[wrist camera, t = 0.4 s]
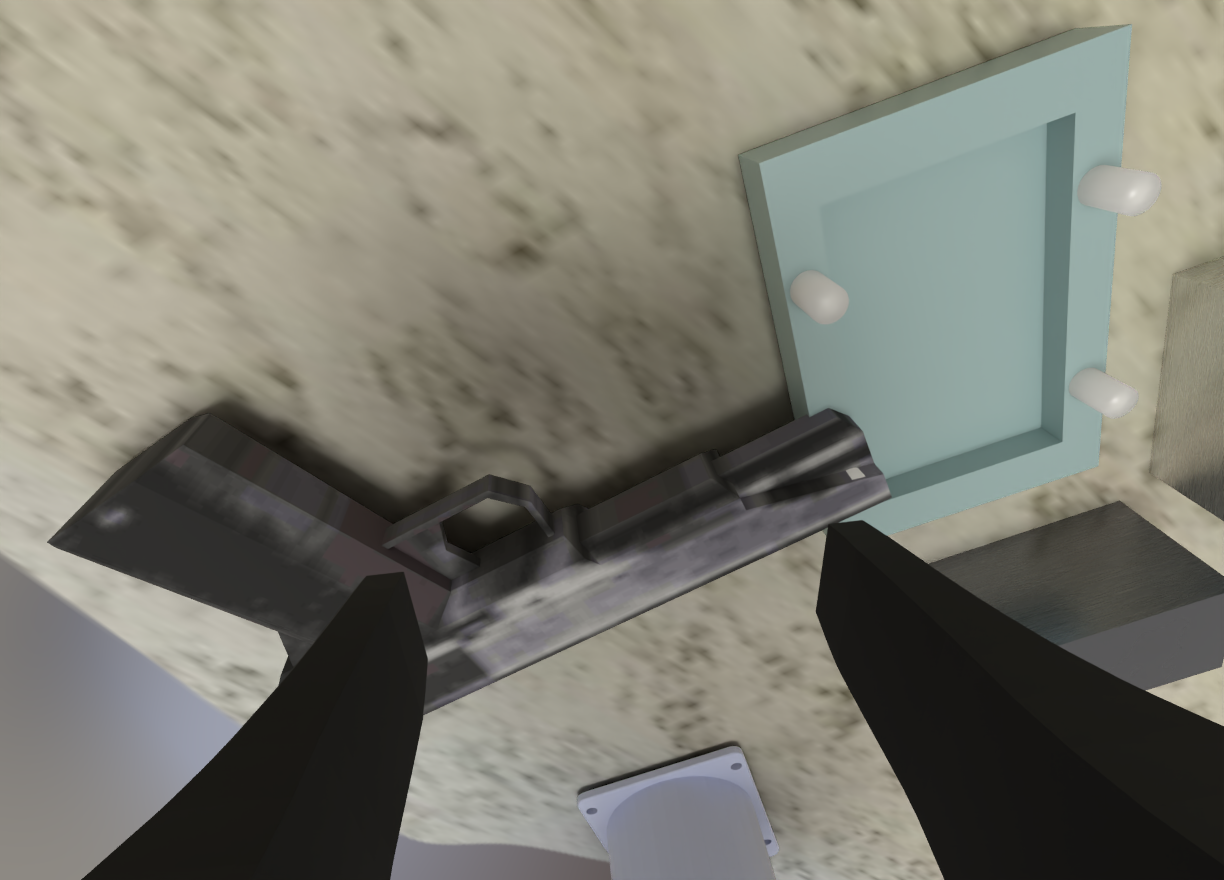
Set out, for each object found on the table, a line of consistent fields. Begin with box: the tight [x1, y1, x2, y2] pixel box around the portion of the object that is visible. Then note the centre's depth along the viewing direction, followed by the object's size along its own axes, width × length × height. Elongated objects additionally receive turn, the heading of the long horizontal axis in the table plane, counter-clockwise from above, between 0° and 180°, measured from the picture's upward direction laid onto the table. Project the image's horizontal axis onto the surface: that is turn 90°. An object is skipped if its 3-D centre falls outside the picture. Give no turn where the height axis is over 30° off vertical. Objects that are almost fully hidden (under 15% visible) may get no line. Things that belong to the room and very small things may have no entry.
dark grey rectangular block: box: [929, 501, 1224, 690], centre depth 24 cm, size 8×4×5 cm, turn 109°
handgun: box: [47, 408, 892, 715], centre depth 19 cm, size 3×21×12 cm
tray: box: [738, 24, 1161, 536], centre depth 19 cm, size 13×9×3 cm
